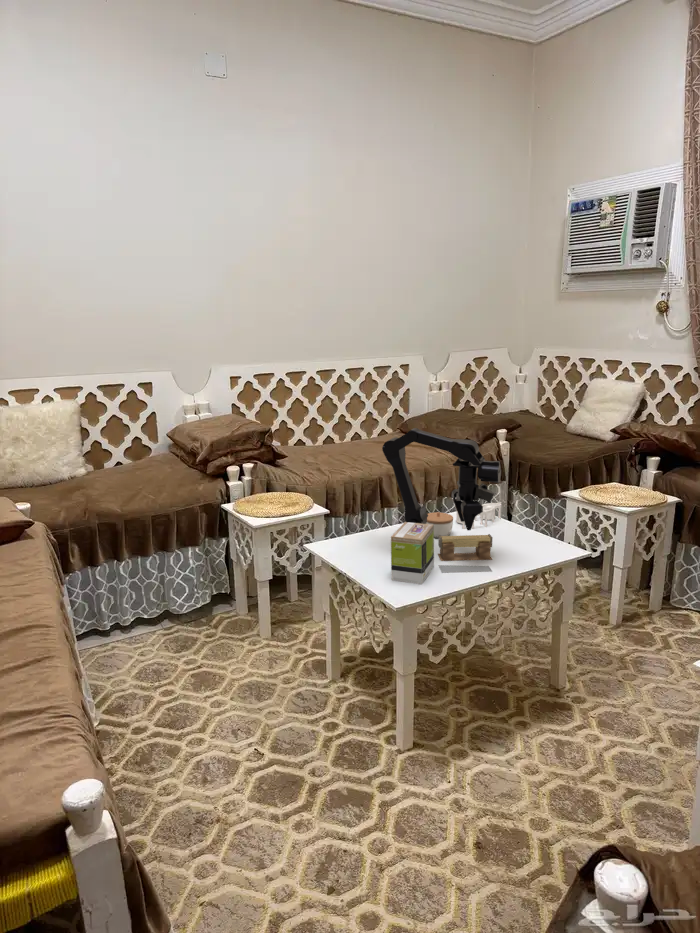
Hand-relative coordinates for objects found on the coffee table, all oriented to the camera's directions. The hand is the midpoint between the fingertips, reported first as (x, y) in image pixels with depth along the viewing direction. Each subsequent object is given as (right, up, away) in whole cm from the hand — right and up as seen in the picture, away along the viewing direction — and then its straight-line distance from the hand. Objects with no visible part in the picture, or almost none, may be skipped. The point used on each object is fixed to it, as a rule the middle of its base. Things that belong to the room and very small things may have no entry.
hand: (465, 525), depth 213 cm
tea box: (-18, -14, -10) cm, 25 cm away
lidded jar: (-6, -6, +24) cm, 25 cm away
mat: (-1, -13, -6) cm, 15 cm away
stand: (0, -11, +2) cm, 11 cm away
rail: (0, -7, +1) cm, 7 cm away
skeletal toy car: (+12, -3, +36) cm, 38 cm away
